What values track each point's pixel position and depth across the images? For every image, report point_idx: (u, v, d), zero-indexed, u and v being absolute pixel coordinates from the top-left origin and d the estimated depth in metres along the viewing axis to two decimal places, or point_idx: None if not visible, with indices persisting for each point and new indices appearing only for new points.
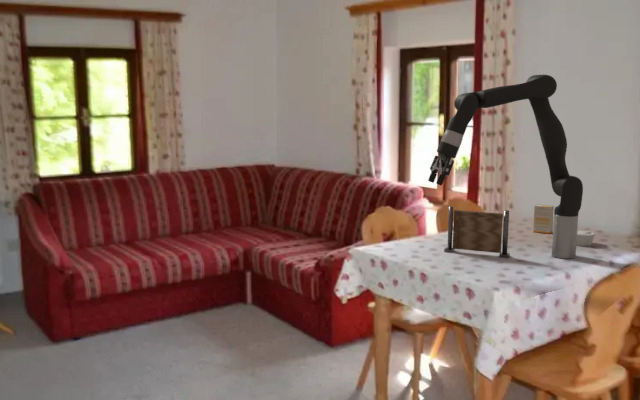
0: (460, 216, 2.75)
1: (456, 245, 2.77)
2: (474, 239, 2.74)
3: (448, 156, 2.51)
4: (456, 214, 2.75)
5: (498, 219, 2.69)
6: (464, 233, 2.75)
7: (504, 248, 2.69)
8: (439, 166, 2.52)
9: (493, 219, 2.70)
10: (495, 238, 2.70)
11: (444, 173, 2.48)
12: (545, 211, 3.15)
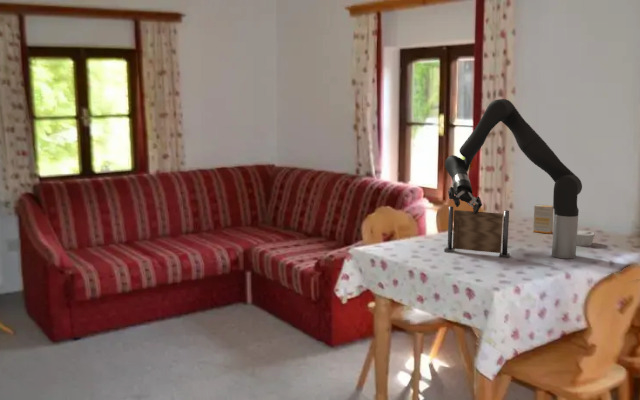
0: (460, 216, 2.75)
1: (456, 245, 2.77)
2: (474, 238, 2.74)
3: (455, 190, 2.78)
4: (456, 214, 2.75)
5: (498, 219, 2.69)
6: (464, 233, 2.75)
7: (504, 248, 2.69)
8: None
9: (493, 219, 2.70)
10: (495, 238, 2.70)
11: (450, 197, 2.72)
12: (545, 211, 3.15)
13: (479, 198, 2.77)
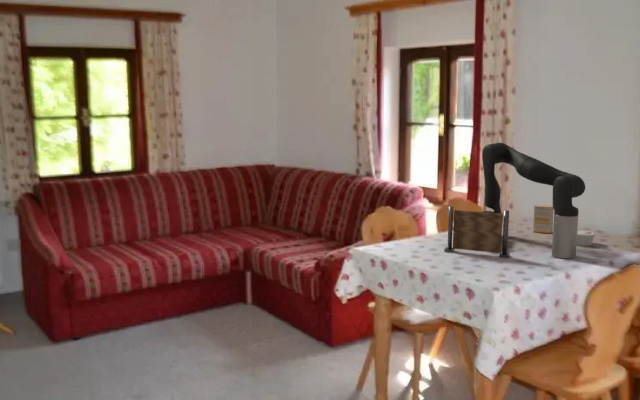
0: (460, 216, 2.75)
1: (456, 245, 2.77)
2: (474, 238, 2.74)
3: None
4: (456, 214, 2.75)
5: (498, 219, 2.69)
6: (464, 233, 2.75)
7: (504, 248, 2.69)
8: None
9: (493, 219, 2.70)
10: (495, 238, 2.70)
11: None
12: (545, 211, 3.15)
13: None
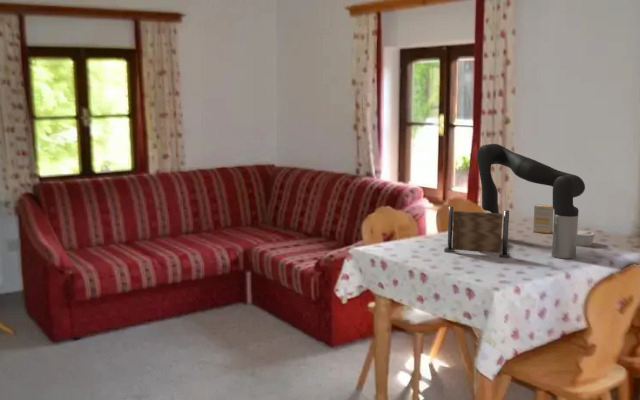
0: (460, 217, 2.73)
1: (456, 246, 2.75)
2: (474, 239, 2.73)
3: None
4: (456, 215, 2.73)
5: (498, 219, 2.68)
6: (463, 233, 2.74)
7: (504, 248, 2.69)
8: None
9: (493, 219, 2.69)
10: (495, 238, 2.70)
11: None
12: (545, 211, 3.15)
13: None
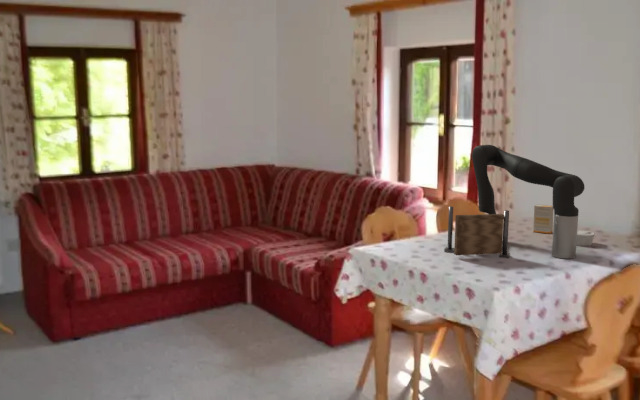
0: (463, 221, 2.65)
1: (460, 251, 2.66)
2: (477, 242, 2.67)
3: None
4: (460, 219, 2.64)
5: (500, 220, 2.67)
6: (467, 238, 2.66)
7: (504, 248, 2.69)
8: None
9: (495, 220, 2.67)
10: (497, 239, 2.68)
11: None
12: (545, 211, 3.15)
13: None
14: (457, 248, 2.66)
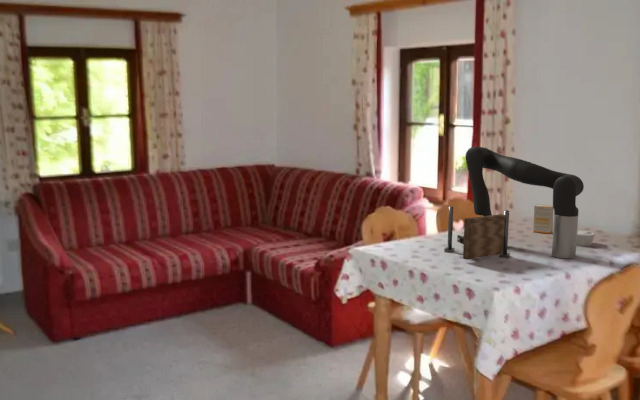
0: (472, 224, 2.59)
1: (470, 255, 2.60)
2: (484, 244, 2.63)
3: None
4: (470, 222, 2.58)
5: (502, 220, 2.66)
6: (475, 241, 2.61)
7: (504, 248, 2.69)
8: None
9: (498, 221, 2.65)
10: (499, 240, 2.67)
11: (462, 242, 2.67)
12: (545, 211, 3.15)
13: None
14: (467, 252, 2.59)
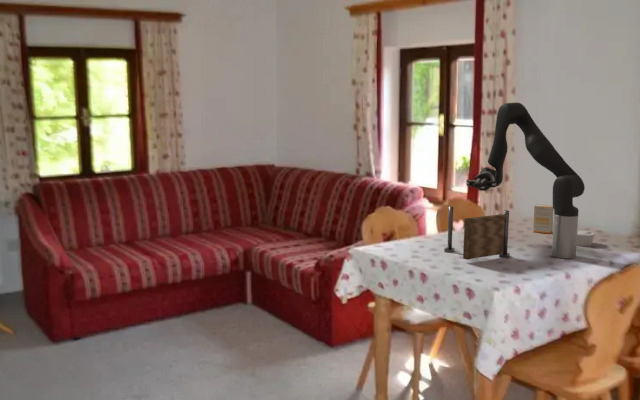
0: (472, 224, 2.59)
1: (470, 255, 2.60)
2: (484, 244, 2.63)
3: None
4: (470, 222, 2.58)
5: (502, 220, 2.66)
6: (475, 241, 2.61)
7: (504, 248, 2.69)
8: None
9: (498, 221, 2.65)
10: (499, 240, 2.67)
11: (471, 185, 2.79)
12: (545, 211, 3.15)
13: (493, 181, 2.78)
14: (468, 252, 2.59)
